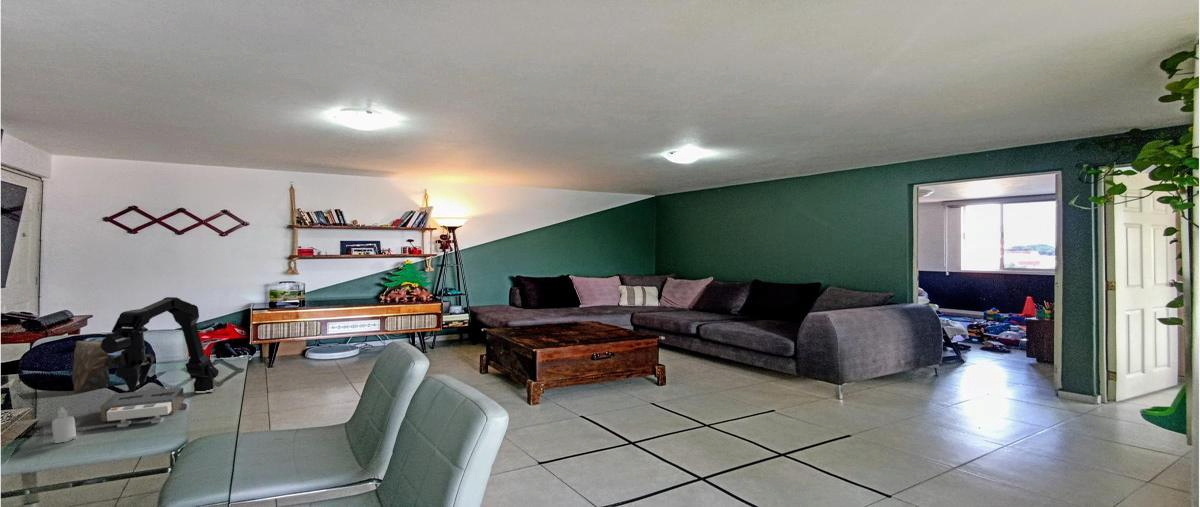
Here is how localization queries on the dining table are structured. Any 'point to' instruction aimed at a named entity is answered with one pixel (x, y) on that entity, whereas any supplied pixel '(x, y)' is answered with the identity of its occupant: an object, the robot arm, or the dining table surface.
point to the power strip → (139, 413)
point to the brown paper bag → (89, 367)
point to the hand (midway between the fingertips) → (137, 388)
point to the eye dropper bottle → (63, 425)
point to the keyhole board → (144, 399)
